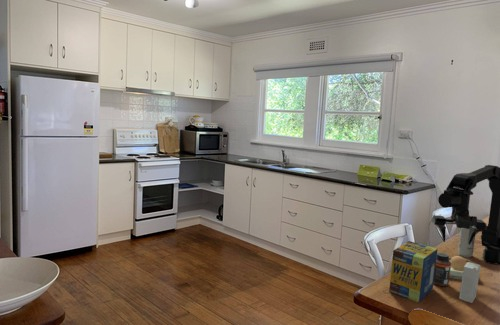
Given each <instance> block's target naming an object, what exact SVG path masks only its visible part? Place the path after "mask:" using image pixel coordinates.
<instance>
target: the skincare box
mask: <svg viewBox="0 0 500 325" xmlns="http://www.w3.org/2000/svg"><path fill="white" fill-rule="evenodd" d="M480 271H481V264H477V263H473V262H472V263H470V262H467V263H466V265H465V266H464V270H463V276H462V280H461V284H460V289H459V297H458V300H462V301H463V302H464V301H465V302H468V303H471V304H472V303H474V301H475V299H476V296H477V292H478V287H479V286H478V285H479V282H478V279H479V280H480Z"/></svg>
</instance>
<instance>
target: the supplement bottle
mask: <svg viewBox="0 0 500 325" xmlns="http://www.w3.org/2000/svg"><path fill="white" fill-rule="evenodd" d="M449 258H450V255H449V254H447V253H444V252H437V258H436V267H435V275H434V283H433V285H435V286H441V287H447V286H449V282H450V278H449V277H450V268H451V262H450V261H449Z"/></svg>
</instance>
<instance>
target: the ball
mask: <svg viewBox="0 0 500 325" xmlns="http://www.w3.org/2000/svg"><path fill="white" fill-rule="evenodd" d="M450 258H451V260H450V262H451V267H452V268H453V269H454V270H456V271H463V270H464V266H465V265H466V263H467V262H466V260H467V259H465V257H463V256H460V255H456V256H453V257H450Z"/></svg>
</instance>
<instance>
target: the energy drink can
mask: <svg viewBox="0 0 500 325" xmlns="http://www.w3.org/2000/svg"><path fill="white" fill-rule="evenodd" d="M469 230H470V229H467V228H460V231H459V232H460V233H459V240H458V247H457V248H458V249H457V253H458V256H461V257H463V258H471V257H472V256H474V249H475V248H474V247H475V241H476V236H475V237H474V238H473V240H472V242H471V243H470V245H469V244H468V236H469Z"/></svg>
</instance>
